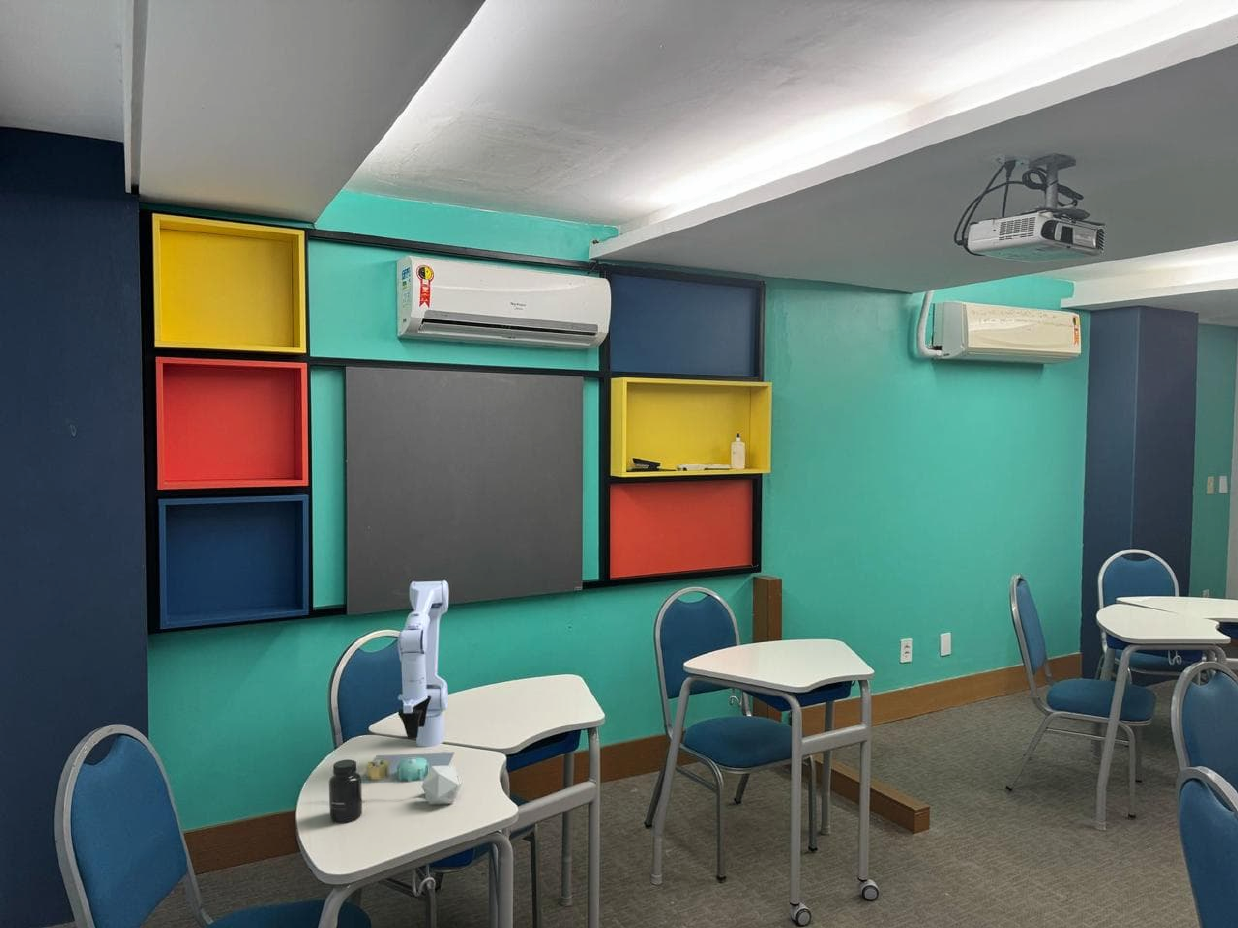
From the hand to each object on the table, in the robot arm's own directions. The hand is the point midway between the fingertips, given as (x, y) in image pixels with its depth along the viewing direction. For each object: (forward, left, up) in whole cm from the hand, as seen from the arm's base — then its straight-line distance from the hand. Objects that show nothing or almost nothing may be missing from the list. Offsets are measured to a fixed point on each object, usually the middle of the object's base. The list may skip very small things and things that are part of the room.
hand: (416, 731), depth 207 cm
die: (+18, +10, -10) cm, 22 cm away
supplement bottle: (+24, -10, -10) cm, 28 cm away
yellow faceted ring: (+5, -8, -9) cm, 13 cm away
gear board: (0, -2, -10) cm, 10 cm away
